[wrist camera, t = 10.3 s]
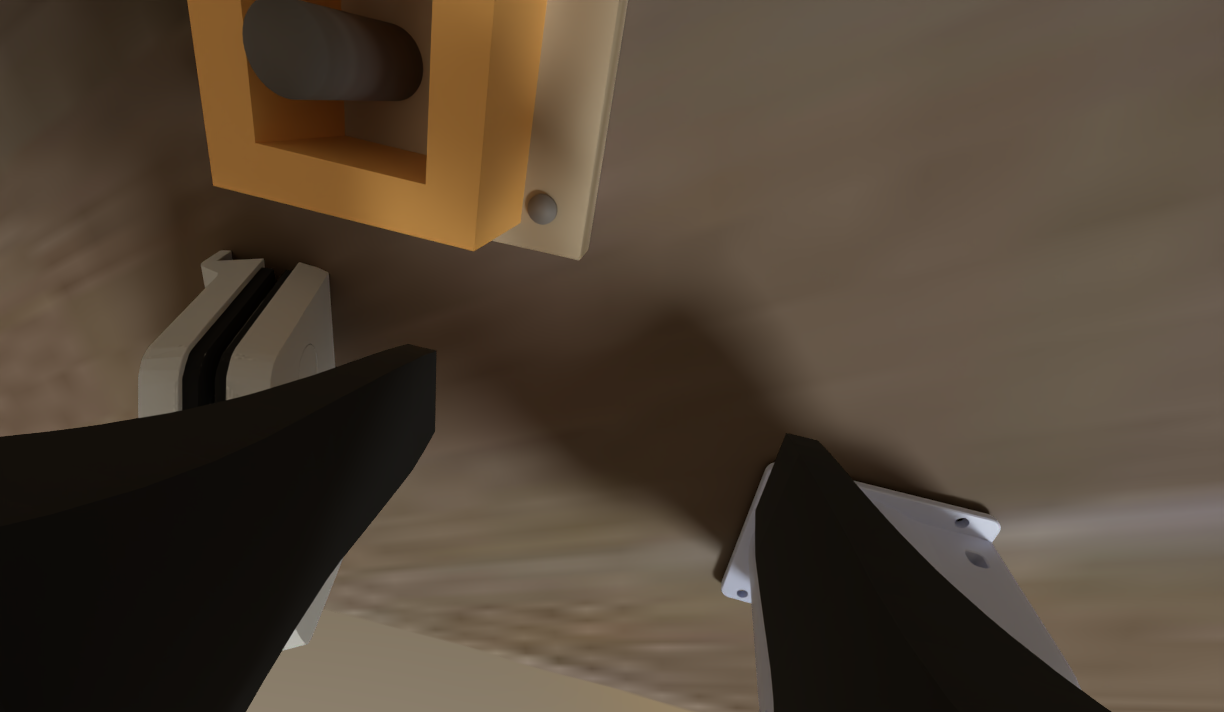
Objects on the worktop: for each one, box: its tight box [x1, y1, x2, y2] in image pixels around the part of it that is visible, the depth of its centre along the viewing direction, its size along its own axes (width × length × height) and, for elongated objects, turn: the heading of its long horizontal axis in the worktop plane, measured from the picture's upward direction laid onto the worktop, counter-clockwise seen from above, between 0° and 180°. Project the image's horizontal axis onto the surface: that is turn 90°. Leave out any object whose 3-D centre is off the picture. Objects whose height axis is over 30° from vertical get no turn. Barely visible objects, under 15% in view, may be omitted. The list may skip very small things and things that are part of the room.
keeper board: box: [242, 0, 628, 260], centre depth 16 cm, size 14×10×6 cm
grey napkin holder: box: [138, 250, 343, 650], centre depth 23 cm, size 17×5×10 cm, turn 170°
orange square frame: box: [187, 0, 547, 251], centre depth 15 cm, size 8×8×4 cm
